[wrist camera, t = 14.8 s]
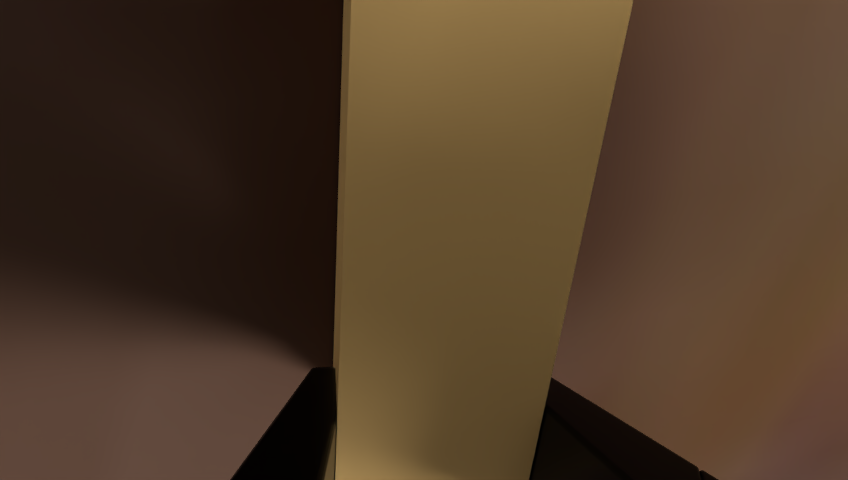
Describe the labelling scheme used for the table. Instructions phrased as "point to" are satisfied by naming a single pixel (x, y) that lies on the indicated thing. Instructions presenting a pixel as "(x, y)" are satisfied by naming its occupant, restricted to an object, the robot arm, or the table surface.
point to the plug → (461, 224)
